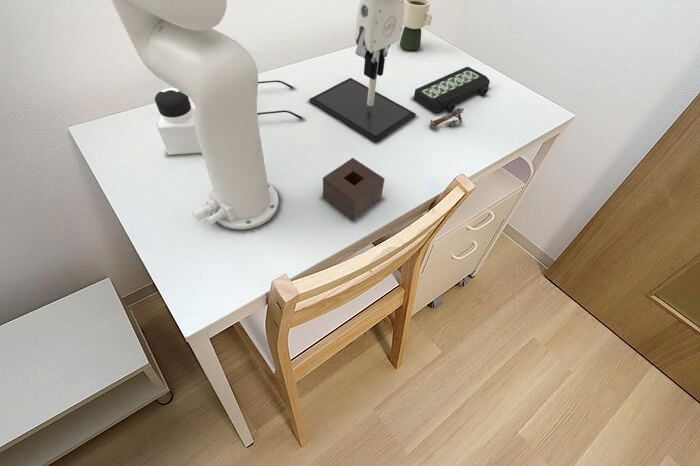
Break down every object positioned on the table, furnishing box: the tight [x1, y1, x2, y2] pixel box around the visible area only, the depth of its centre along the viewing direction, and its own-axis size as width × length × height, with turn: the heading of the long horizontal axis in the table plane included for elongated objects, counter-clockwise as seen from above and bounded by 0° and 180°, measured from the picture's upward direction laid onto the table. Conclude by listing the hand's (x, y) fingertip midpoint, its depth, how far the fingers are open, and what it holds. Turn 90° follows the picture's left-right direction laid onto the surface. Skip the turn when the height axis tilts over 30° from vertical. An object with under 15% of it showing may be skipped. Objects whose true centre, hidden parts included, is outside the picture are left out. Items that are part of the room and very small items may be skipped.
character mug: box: [399, 0, 433, 51], centre depth 111 cm, size 11×7×13 cm, turn 48°
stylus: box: [367, 50, 380, 109], centre depth 87 cm, size 2×2×14 cm
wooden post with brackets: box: [429, 107, 465, 130], centre depth 91 cm, size 2×8×4 cm, turn 105°
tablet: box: [308, 77, 417, 144], centre depth 94 cm, size 15×22×1 cm
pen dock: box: [322, 157, 385, 221], centre depth 73 cm, size 8×8×6 cm
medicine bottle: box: [154, 87, 202, 156], centre depth 78 cm, size 7×7×12 cm
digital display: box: [413, 66, 491, 114], centre depth 100 cm, size 21×3×10 cm
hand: (373, 74), depth 86 cm, fingers closed on stylus, 1 cm apart
